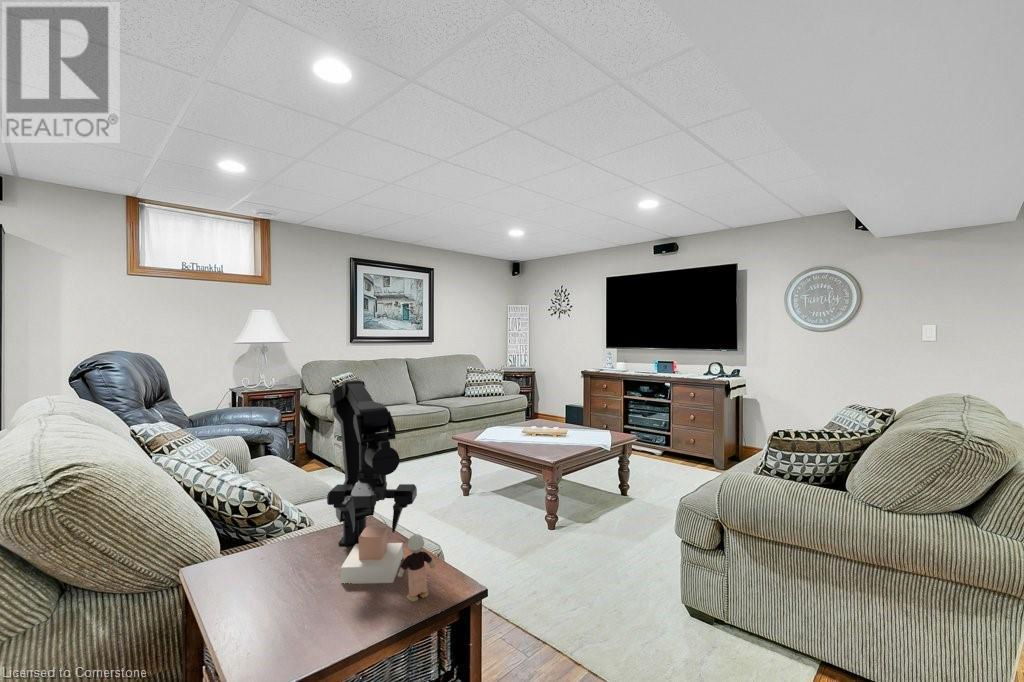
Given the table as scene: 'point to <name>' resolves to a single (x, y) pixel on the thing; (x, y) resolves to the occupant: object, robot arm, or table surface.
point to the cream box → (372, 566)
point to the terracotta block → (373, 543)
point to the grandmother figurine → (416, 568)
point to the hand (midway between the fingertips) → (373, 531)
